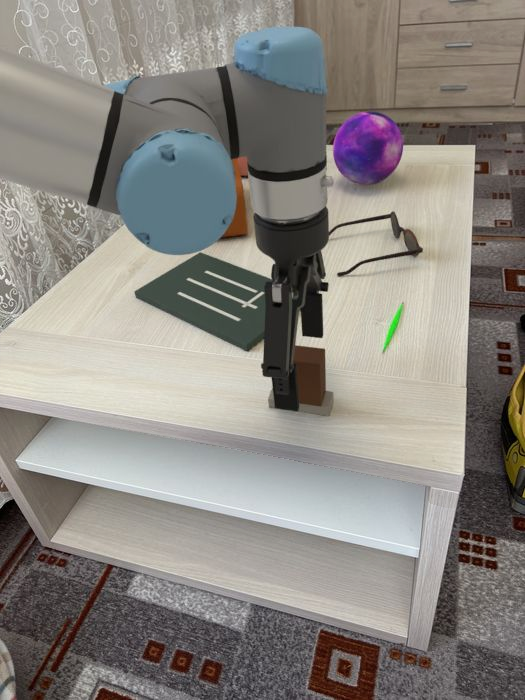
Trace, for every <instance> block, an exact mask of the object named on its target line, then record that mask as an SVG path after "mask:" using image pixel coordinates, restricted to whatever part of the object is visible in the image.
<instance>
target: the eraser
mask: <svg viewBox="0 0 525 700" xmlns="http://www.w3.org/2000/svg"><path fill="white" fill-rule="evenodd" d="M293 364H296V367H297V380H298V394H299V410H298V411H297V412H299V413H307V414H312V415H320V416H326V417H329V416H330V415H331V412H332V406H333V404H334V395H335V393H334V391H329V390H327V380H326V377H327V375H326V374H327V373H326V371H327V370H326V348H321V347H315V346H314V347H313V346H305V345H297V344H295V352H294V361H293ZM267 405H268V408H272V409H276V408H275V404H274V395H273V386H272V387H271V390H270V393H269V394H268V398H267Z"/></svg>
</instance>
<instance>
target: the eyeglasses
mask: <svg viewBox="0 0 525 700" xmlns="http://www.w3.org/2000/svg"><path fill="white" fill-rule="evenodd" d="M388 219H390V225H391V229H392V233H393V235H394V237H395V239H397V240H399V239H400V237H401V234H402V235H403V243H404V245H405V247H406V251H401V252H395V253H390V254H387V255H381V256H377V257H372V258H368V259H364V260H361V261H359V262H357V263H356V264H354V265H353V266H351V267H350V268H349V269H347V270H346V271H345V270H344V271H339V272H337V273H336V276H338V277H341V276H347V275H349V274H351V273H353V272H354V271H355V270H356V269H358V268H359V267H360V266H362V265H365V264H368V263H373V262H378V261H383V260H390V259H395V258H401V257H402V258H403V257H408V256H412V257H414V258H417V257H418V256H419V254H422V253H423V252H424V249H423V247H421V246H420V244H419V240H418V239H417V236H416V235H415V233H414V231H412V230H411V229H409V228H407V229H405V228H404V227H402V226H400V223H399V220H398V219H399V218H398V216H397V214H396V212H395V211H391V212H390V213H387V214H382V215H377V216H371V217H365V218H361V219H356V220H351V221H346V222H343V223H339V224H337V225H335V226H334V227H332V228H331V229H329V237H330V236H331V235H332V234H333V233H334V232H335V231H336V230H337V229H340V228H342V227H346V226H347V227H348V226H352V225H357V224H364V223H369V222H376V221H382V220H383V221H384V220H388Z"/></svg>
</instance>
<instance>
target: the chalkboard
mask: <svg viewBox="0 0 525 700" xmlns="http://www.w3.org/2000/svg"><path fill="white" fill-rule="evenodd" d="M266 281H270V282H273V280H272V278H269V277H268V276H265V275H262V274H259V273H257V272H254V271H251V270H249V269H246V268H243V267H241V266H238V265H235V264H233V263H230V262H228V261H224V260H222V259H219V258H217V257H214V256H211V255H208V254H206V253H204V252H202V251H199V252H197V254H195V255H193V256H191V257H190V258H188V259H186V260H185V261H183V262H181V263H179V264H178V265H175V266H174V267H173V268H171V269H170V270H168V271H166V272H164V273H162V274H161V275H159V276H157V277H156V278H154V279H153V280H151V281H149V282H147V283H146V284H144V285H142V286H141V287H139V288H138V289H136V290H134V292H133V293H134V296H135V298H136V299H138V300H140V301H143V302H145V303H147V304H148V305H151V306H153V307H155V308H156V309H159V310H161V311H163V312H165V313H168V314H170V315H171V316H173V317H176V318H177V319H179V320H182V321H184V322H186V323H187V324H190V325H192V326H194V327H196V328H198V329H200V330H202V331H204V332H206V333H209V334H211V335H212V336H215V337H216V338H219V339H221V340H223V341H225V342H227V343H229V344H232V345H233V346H235V347H238V348H240V349H242V350H244V351H246V352H248V351H249V350H251V349H252V348H254V347H255V346H256V345H257V344H259V343H260V342H262V340H264V331H265V308H266V304H265V290H264V286H265V283H266ZM297 298H298V296H293V297H292V299H297ZM300 310H301V308H300Z"/></svg>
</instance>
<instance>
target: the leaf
mask: <svg viewBox="0 0 525 700" xmlns="http://www.w3.org/2000/svg"><path fill="white" fill-rule="evenodd" d="M403 305H404V302H402V303H401V305H400V306H399V308H398V310H397V312H395V313H396V314H395V315H394V317H393V319H392V321H391V323H390V326H389V328H388V332H387V334H386V339H385V342H384V344H383V345H384V346H383V350H382V354H381V355H383V353H384V352H385V350H386V348H387V346H388V345H389V343H390V341H391V339H392V337H393V335H394V333H395V331H396V329H397V326H398V323H399V321H400V318H401V313H402V310H403Z"/></svg>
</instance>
